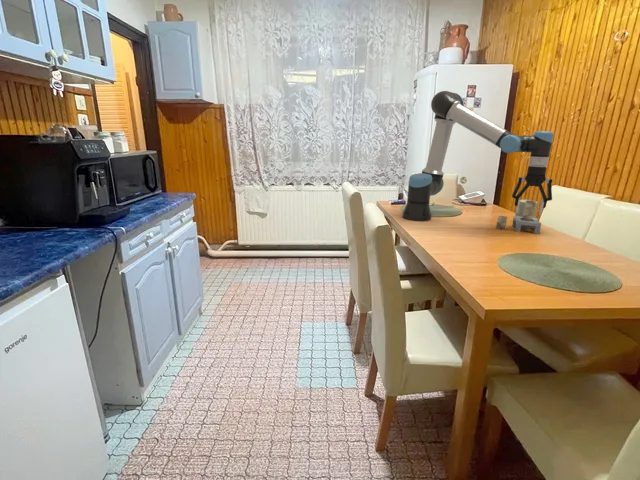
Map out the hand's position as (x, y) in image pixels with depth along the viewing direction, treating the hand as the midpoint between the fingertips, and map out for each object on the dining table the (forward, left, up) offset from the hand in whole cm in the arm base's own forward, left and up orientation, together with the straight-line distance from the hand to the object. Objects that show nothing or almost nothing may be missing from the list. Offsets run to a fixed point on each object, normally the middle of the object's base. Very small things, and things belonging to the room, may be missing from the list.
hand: (528, 213), depth 167 cm
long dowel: (0, 0, -8) cm, 8 cm away
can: (+1, +15, -8) cm, 17 cm away
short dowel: (-11, -3, -8) cm, 14 cm away
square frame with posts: (0, 0, -8) cm, 8 cm away
